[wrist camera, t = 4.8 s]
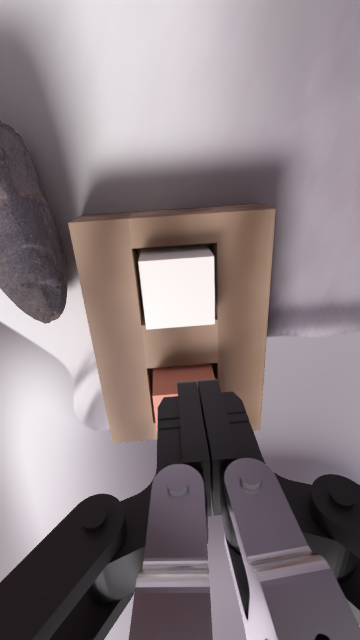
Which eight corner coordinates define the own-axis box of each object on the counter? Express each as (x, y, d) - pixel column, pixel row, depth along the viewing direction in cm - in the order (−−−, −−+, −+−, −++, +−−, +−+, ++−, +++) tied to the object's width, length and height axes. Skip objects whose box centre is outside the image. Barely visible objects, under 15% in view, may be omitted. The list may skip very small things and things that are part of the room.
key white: (205, 243, 24) (214, 256, 21) (207, 303, 26) (214, 324, 23) (141, 248, 24) (138, 261, 20) (148, 308, 26) (146, 329, 23)
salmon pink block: (210, 361, 27) (218, 390, 24) (211, 406, 29) (218, 439, 26) (153, 366, 27) (152, 395, 24) (158, 410, 29) (158, 444, 26)
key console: (258, 203, 25) (275, 208, 21) (249, 402, 33) (260, 429, 30) (81, 215, 24) (67, 222, 21) (117, 413, 33) (112, 443, 29)
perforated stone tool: (92, 300, 28) (72, 337, 21) (34, 312, 28) (-2, 352, 21) (24, 98, 21) (-33, 66, 15) (-51, 114, 21) (-139, 89, 15)
